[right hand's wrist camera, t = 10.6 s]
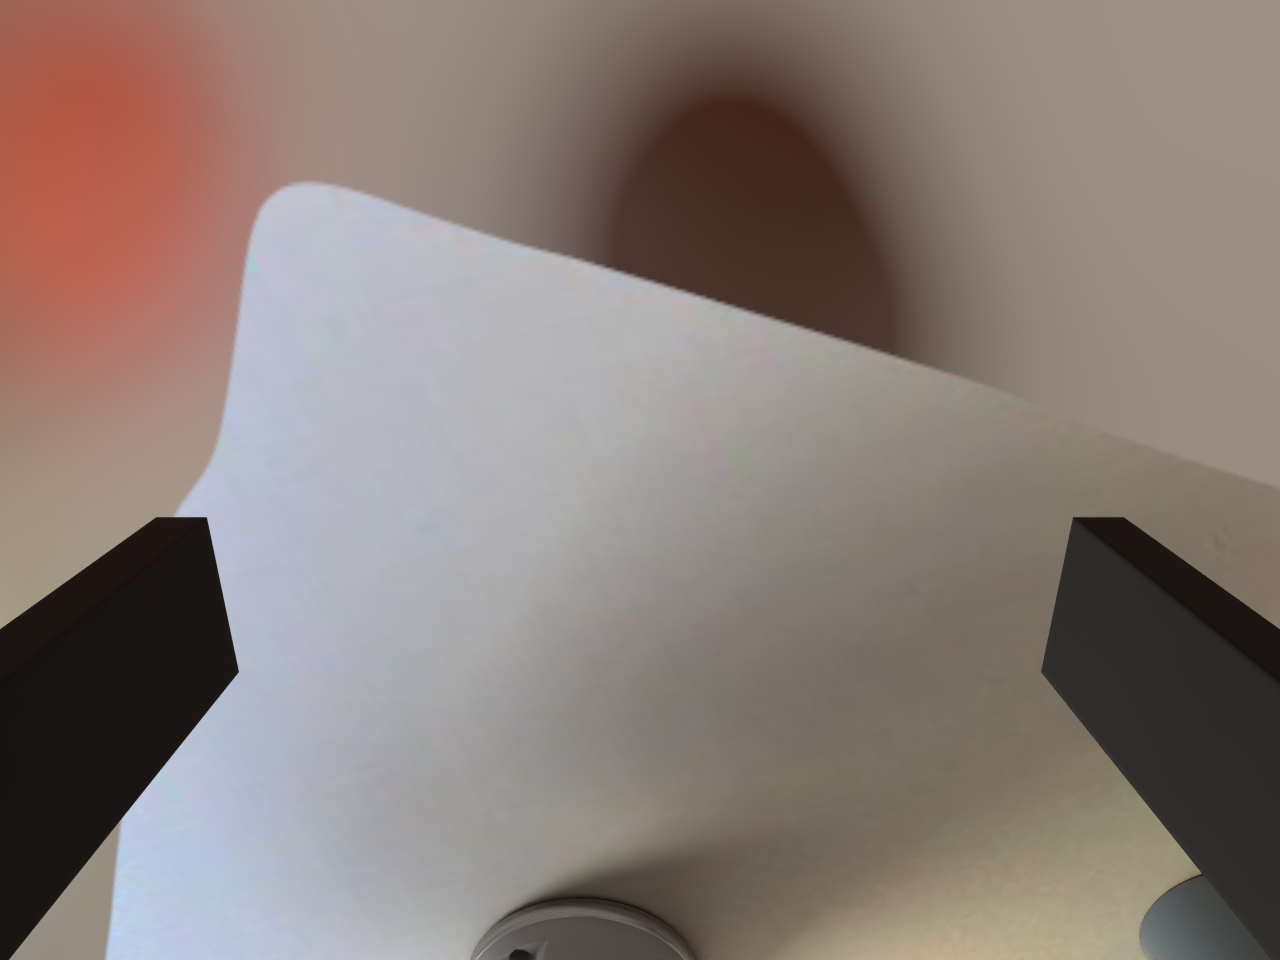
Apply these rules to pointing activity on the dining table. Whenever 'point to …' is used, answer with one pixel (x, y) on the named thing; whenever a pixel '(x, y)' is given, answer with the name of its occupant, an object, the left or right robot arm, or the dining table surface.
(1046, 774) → the dining table surface
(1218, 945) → the jar
